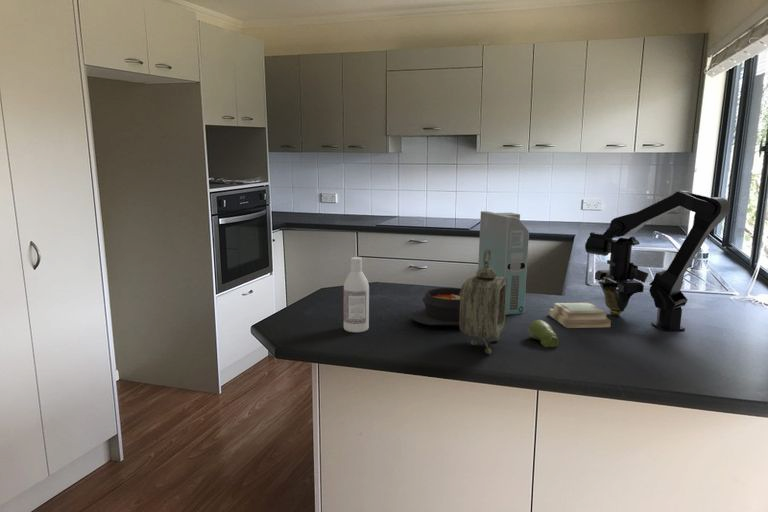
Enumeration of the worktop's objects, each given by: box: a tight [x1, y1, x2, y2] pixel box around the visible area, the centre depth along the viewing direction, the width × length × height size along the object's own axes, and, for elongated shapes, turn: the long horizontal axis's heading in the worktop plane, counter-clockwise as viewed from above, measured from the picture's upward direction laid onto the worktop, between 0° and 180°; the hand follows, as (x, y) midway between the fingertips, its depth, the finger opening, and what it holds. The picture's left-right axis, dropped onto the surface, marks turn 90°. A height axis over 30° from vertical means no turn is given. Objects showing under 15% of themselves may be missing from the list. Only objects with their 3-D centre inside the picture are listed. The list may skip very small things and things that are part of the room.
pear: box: [528, 319, 559, 348], centre depth 149 cm, size 6×5×10 cm
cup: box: [604, 286, 630, 316], centre depth 174 cm, size 8×7×8 cm
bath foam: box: [343, 256, 370, 333], centre depth 156 cm, size 7×7×20 cm
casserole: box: [409, 287, 461, 328], centre depth 165 cm, size 25×19×8 cm
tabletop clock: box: [458, 249, 507, 355], centre depth 143 cm, size 14×9×25 cm, turn 158°
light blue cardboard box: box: [477, 210, 530, 316], centre depth 179 cm, size 16×8×30 cm, turn 19°
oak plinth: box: [548, 302, 612, 329], centre depth 168 cm, size 13×13×4 cm
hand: (615, 308), depth 174 cm, fingers closed on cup, 6 cm apart
